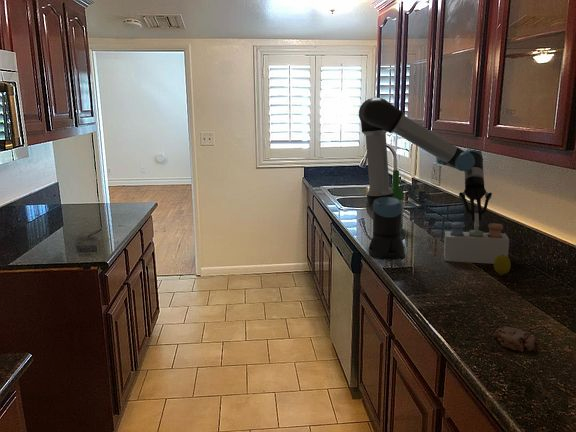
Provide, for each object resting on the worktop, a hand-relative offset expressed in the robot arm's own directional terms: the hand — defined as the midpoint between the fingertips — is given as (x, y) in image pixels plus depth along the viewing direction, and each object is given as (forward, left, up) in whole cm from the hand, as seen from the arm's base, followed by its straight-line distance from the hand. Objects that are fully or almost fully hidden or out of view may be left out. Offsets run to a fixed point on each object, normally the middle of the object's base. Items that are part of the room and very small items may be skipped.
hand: (476, 228), depth 182 cm
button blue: (-3, +7, -5) cm, 9 cm away
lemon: (-14, -13, -13) cm, 23 cm away
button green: (0, 0, -8) cm, 8 cm away
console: (0, 0, -13) cm, 13 cm away
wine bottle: (+27, +48, -13) cm, 56 cm away
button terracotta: (+2, -6, -5) cm, 8 cm away
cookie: (-63, -28, -13) cm, 70 cm away
